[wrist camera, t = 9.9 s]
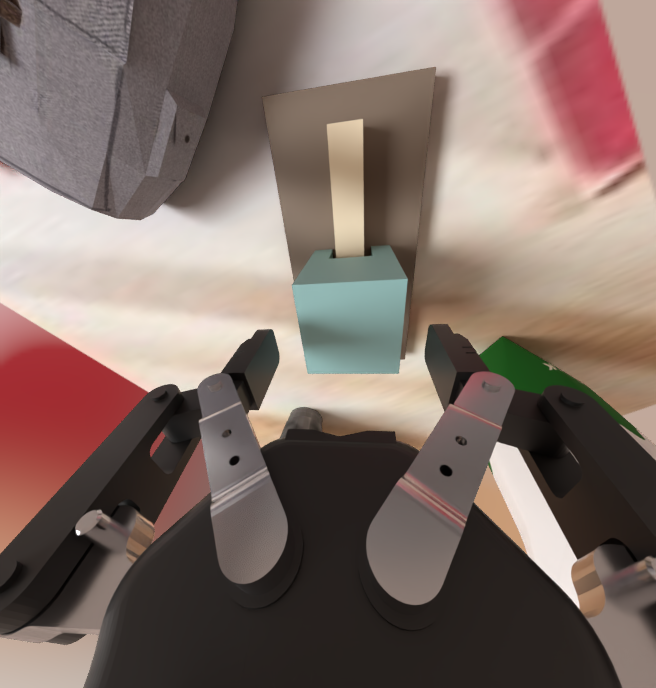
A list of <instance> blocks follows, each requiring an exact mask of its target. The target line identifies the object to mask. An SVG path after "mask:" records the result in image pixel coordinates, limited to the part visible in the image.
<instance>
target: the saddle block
mask: <svg viewBox="0 0 656 688" xmlns="http://www.w3.org/2000/svg"><path fill="white" fill-rule="evenodd" d="M407 281H408V278H407V277H406V275H405V273H404V271H403V269H402V267H401V265H400V264H399V262H398V260H397V258H396V256H395V254H394V252H393V250H392V249H391V247H390V245H383V246H371V256H363V257H349V258H334V259H333V249H329V250H316V251H314V253H313V254H312V256H311V257H310V259H309V260H308V262H307V263H306V265H305V266H304V268H303V269H302V271H301V272H300V274H299V275H298V277H297V278H296V280H295V281H294V283H293V284H292V289H293V294H294V300H295V306H296V311H297V317H298V322H299V328H300V333H301V339H302V344H303V350H304V356H305V361H306V367H307V372H308V374H399V366H400V355H401V345H402V334H403V324H404V313H405V303H406V292H407Z"/></svg>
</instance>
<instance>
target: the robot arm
mask: <svg viewBox="0 0 656 688" xmlns="http://www.w3.org/2000/svg"><path fill="white" fill-rule="evenodd" d="M425 362H426V365H427V367H428V370H429V372H430V375H431V378H432V380H433V383H434V385H435V388H436V391H437V393H438V396H439V398H440V401H441V404H442V406H443V409H444V414H443V415H442V417H441V418H440V420H439V422H438V423H437V425H436V426H435V428H434V430H433V431H432V433H431V434H430V436H429V437H428V439H427V441H426V442H425V444H424V445H423V447H422V449H421V450H420V451H419V450H417V449H415V448H414V447H412V446H410V445H408V444H405V443H403V442H400V441H396V436H395V432H390V431H364V432H359V433H354V434H350V435H345V436H335V435H331V434H328V433H324V432H320V431H317V430H313V429H288V430H287V433H286V437H284V438H281V439H277V440H275V441H273V442H270V443H269V444H267V445H265V446H264V447H262V448H261V447H260V445H259V442H258V440H257V437H256V435H255V432H254V430H253V427H252V425H251V423H250V420H249V418H248V415H247V414H248V412H249V410H259V408H260V406H261V404H262V401H263V399H264V397H265V394H266V392H267V390H268V387H269V385H270V383H271V380H272V378H273V376H274V373H275V371H276V369H277V366H278V364H279V351H278V347H277V343H276V339H275V336H274V332H273V330H272V329H265V330H257V331H256V332H255V334H254V335H253V337H252V338H251V339H248V340H246V341H245V342H244V343H242V344H241V345H240V347H239V348H238V349H237V352H235V354H234V355H233V357H232V358H231V359H230V361H229V362H228V363H227V365H226V366H225V368H224V369H223V370H222V372H221V373H219V374H215V375H212V376H209V377H208V378H206V379H205V380H203V381H202V382H201V383H200V384H199V386H198V388H197V389H193V390H189V391H184V392H180V390H179V388H178V387H177V386H176V385H173V384H168V385H163V386H160V387H158V388H156V389H154V390H152V391H151V392H149V393H148V394H147V395H146V396H145V397H144V398H143V399H142V400H141V401H140V402H139V403H138V404H137V405H136V407H135V408H134V409H133V410H132V411H131V412H130V413H129V414H128V415H127V416H126V417H125V418H124V420H123V421H122V422H121V423H120V424H119V425H118V426H117V427H116V428H115V429H114V430H113V432H112V433H111V434H110V435H109V436H108V437H107V438H106V439H105V440H104V442H102V444H101V445H100V446H99V447H98V448H97V449H96V450H95V451H94V452H93V453H92V455H91V456H90V457H89V458H88V459H87V460H86V461H85V462H84V463H83V464H82V466H81V467H80V468H79V469H78V470H77V471H76V472H75V473H74V474H73V475H72V476H71V477H70V478H69V480H68V481H67V482H66V483H65V484H64V485H63V486H62V487H61V488H60V489H59V491H58V492H57V493H56V494H55V495H54V496H53V497H52V498H51V499H50V501H48V502H47V504H46V505H45V506H44V507H43V508H42V509H41V510H40V511H39V512H38V514H37V515H36V516H35V517H34V518H33V519H32V520H31V521H30V522H29V523H28V524H27V525H26V527H25V528H24V529H23V530H22V531H21V532H20V533H19V534H18V535H17V536H16V537H15V539H14V540H13V541H12V542H11V543H10V544H9V545H8V546H7V547H6V549H4V551H3V552H2V553H1V554H0V637H2V638H7V639H14V640H20V641H27V642H33V643H41V642H50V643H57V644H63V645H67V644H71V643H73V642H76V641H78V640H79V639H81V638H82V637H84V636H85V635H86V634H96V635H99V638H98V641H97V646H96V650H95V654H94V657H93V660H92V664H91V667H90V670H89V673H88V676H87V679H86V682H85V685H84V687H83V688H656V460H655V459H654V458H653V457H652V456H651V455H650V454H649V453H648V452H647V451H646V450H645V449H644V448H643V447H642V446H641V445H640V444H639V443H638V442H637V441H636V440H635V439H634V438H633V437H632V436H631V435H630V434H629V433H628V432H627V431H626V430H625V429H624V428H623V427H622V426H621V425H620V424H619V423H618V422H617V421H616V420H615V419H614V418H613V417H612V416H611V415H610V414H609V413H608V412H607V411H606V410H605V409H604V408H603V407H602V406H601V405H600V404H599V403H598V402H597V401H595V400H594V399H593V398H592V397H590V396H589V395H587V394H585V393H583V392H581V391H579V390H577V389H574V388H571V387H567V386H561V385H552V386H548V387H546V388H545V389H544V391H543V393H542V394H537V393H532V392H527V391H522V390H518V389H515V388H514V386H513V384H512V383H511V382H510V381H509V380H508V379H506V378H505V377H503V376H501V375H498V374H496V373H492V372H490V370H489V369H488V367H487V366H486V365H485V363H484V362H483V360H482V359H481V358H480V356H479V355H478V354H477V352H476V350H475V349H474V348H473V346H472V345H471V343H470V342H469V341H468V339H466V338H465V337H463V336H462V335H460V334H453V332H452V330H451V329H450V327H449V326H448V324H431V325H430V326H429V328H428V334H427V340H426V346H425ZM161 431H162V432H163V433H164V434H165V438H164V439H163V441H162V442H161V444H160V445H159V447H158V448H157V450H156V451H155V452H154V454H153V456H152V457H150V449H151V446H152V444H153V443H154V441H155V440H156V438H157V437H158V435H159V434H160V433H161ZM201 438H202V443H203V449H204V455H205V461H206V467H207V473H208V478H209V485H210V490H211V492H210V493H209V494H208V495H207V496H206V497H205V498H204V499H202V500H201V501H200V502H199V503H198V504H197V505H196V506H194V507H193V508H192V509H191V510H190V511H189V512H188V513H186V514H185V515H184V516H183V517H182V518H181V519H179V520H178V521H177V522H176V523H175V524H174V525H173V526H172V527H170V528H169V529H168V530H167V531H166V532H165V533H163V534H162V535H161V536H160V537H159V538H158V539H157V540H156V541H154V542H153V543H152V541H153V537H154V532H155V531H154V524H155V522H156V520H157V518H158V516H159V514H160V513H161V511H162V509H163V507H164V505H165V503H166V502H167V500H168V498H169V496H170V494H171V492H172V491H173V489H174V487H175V485H176V483H177V481H178V480H179V478H180V476H181V474H182V472H183V470H184V468H185V466H186V465H187V463H188V461H189V459H190V458H191V456H192V454H193V452H194V450H195V448H196V446H197V445H198V443H199V441H200V439H201ZM496 442H499V443H502V444H506V445H509V446H513V447H516V448H518V450H519V452H520V454H521V455H522V457H523V459H524V461H525V463H526V465H527V467H528V469H529V470H530V472H531V474H532V476H533V478H534V480H535V482H536V484H537V485H538V487H539V489H540V491H541V493H542V495H543V497H544V498H545V500H546V502H547V504H548V506H549V508H550V510H551V512H552V513H553V515H554V517H555V519H556V521H557V523H558V525H559V527H560V528H561V530H562V532H563V534H564V536H565V538H566V540H567V541H568V543H569V545H570V547H571V549H572V551H573V553H574V555H575V556H576V558H577V561H576V562H575V563H574V564H573V566H572V569H571V578H572V582H573V585H574V588H575V590H576V593H577V597H578V601H579V608H580V609H579V608H578V607H577V605H576V604H575V603H574V602H573V601H572V599H571V598H570V597H569V596H568V595H567V594H566V593H565V592H564V591H563V590H562V589H561V588H560V587H559V586H558V585H557V584H556V583H555V582H554V581H553V580H552V579H551V578H550V577H549V576H548V575H547V574H546V573H545V572H544V571H543V570H542V569H541V568H540V567H539V566H538V565H537V564H536V563H535V562H534V561H533V560H532V559H531V558H530V557H529V556H528V555H527V554H526V553H525V552H524V551H523V550H522V549H521V548H520V547H519V546H518V545H517V544H516V543H515V542H514V541H513V540H511V538H510V537H508V536H507V535H506V534H505V533H504V532H503V531H502V530H501V529H500V528H499V527H498V526H497V525H496V524H495V523H494V522H493V521H492V520H491V519H490V518H489V517H488V516H487V515H486V514H485V513H484V512H483V511H482V510H481V509H480V508H479V507H478V506H477V505H476V504H475V503H474V499H475V497H476V494H477V491H478V489H479V486H480V484H481V481H482V478H483V476H484V473H485V471H486V468H487V466H488V463H489V460H490V458H491V455H492V453H493V450H494V447H495V445H496ZM570 451H571V452H570ZM572 454H573V455H572ZM575 458H576V459H575ZM577 461H578V462H577ZM151 543H152V544H151Z"/></svg>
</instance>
